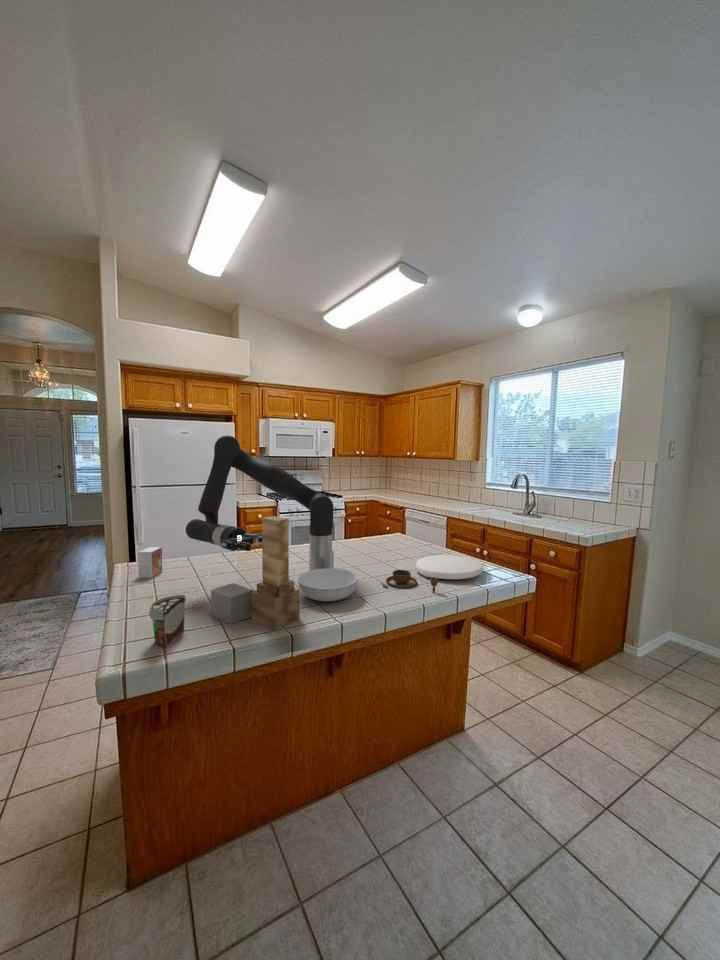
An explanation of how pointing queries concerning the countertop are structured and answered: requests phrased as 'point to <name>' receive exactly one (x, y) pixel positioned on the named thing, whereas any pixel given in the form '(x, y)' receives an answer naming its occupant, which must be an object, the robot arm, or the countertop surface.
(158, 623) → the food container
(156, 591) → the countertop surface
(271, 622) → the walnut rack
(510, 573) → the countertop surface
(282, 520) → the oak board
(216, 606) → the slate block
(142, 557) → the small box
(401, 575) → the place setting
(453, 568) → the plate
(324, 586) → the serving bowl
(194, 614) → the countertop surface
